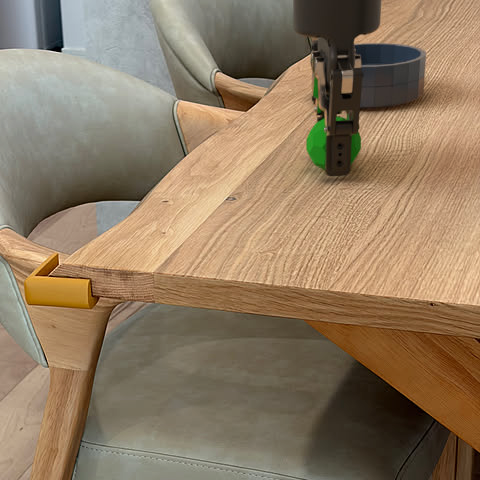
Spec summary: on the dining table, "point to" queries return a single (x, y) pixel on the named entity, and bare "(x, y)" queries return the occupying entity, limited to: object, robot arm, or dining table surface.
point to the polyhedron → (318, 144)
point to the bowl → (390, 74)
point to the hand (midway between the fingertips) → (332, 163)
